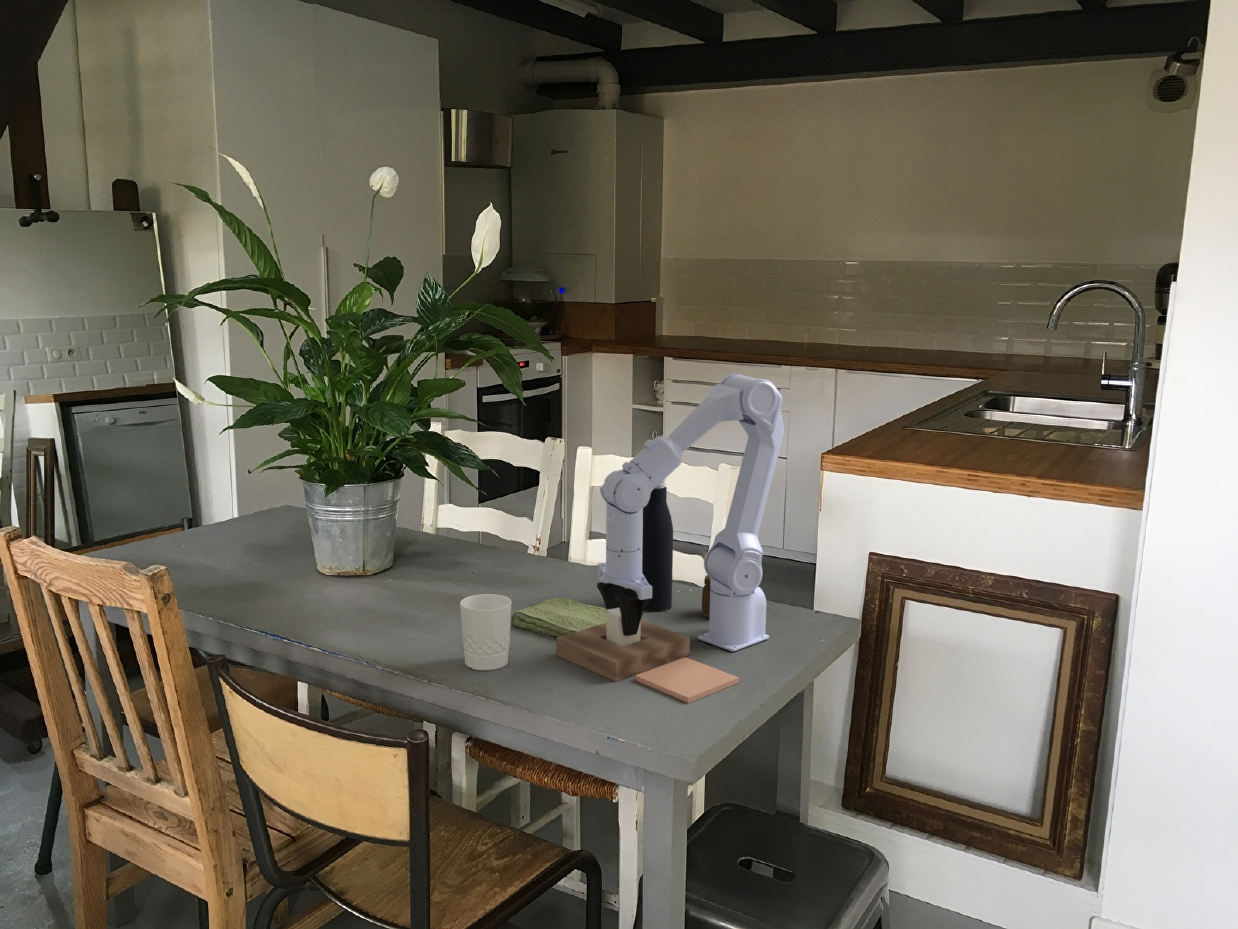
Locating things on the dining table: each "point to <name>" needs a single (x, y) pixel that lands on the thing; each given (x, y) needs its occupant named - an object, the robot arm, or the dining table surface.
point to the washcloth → (559, 617)
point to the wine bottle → (658, 549)
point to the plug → (618, 629)
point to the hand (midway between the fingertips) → (623, 630)
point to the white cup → (486, 630)
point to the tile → (687, 679)
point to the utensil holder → (706, 594)
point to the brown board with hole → (622, 650)
